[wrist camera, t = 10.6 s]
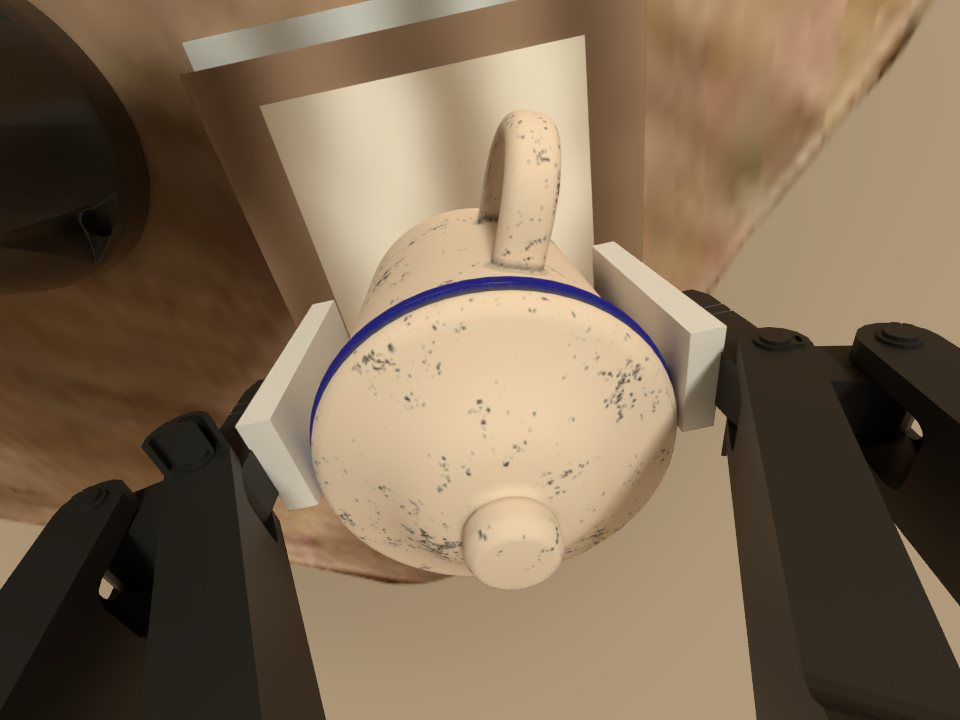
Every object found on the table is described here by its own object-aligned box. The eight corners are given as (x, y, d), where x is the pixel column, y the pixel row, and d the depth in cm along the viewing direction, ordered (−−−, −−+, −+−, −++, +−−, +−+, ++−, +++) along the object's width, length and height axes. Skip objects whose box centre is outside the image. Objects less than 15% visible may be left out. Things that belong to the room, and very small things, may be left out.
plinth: (344, 397, 32) (323, 463, 26) (189, 44, 21) (90, 19, 15) (629, 338, 32) (673, 392, 26) (628, -53, 21) (708, -120, 15)
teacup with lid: (552, 404, 21) (656, 675, 11) (363, 392, 20) (286, 687, 10) (628, 130, 15) (1010, 176, 5) (363, 87, 14) (159, 33, 4)
